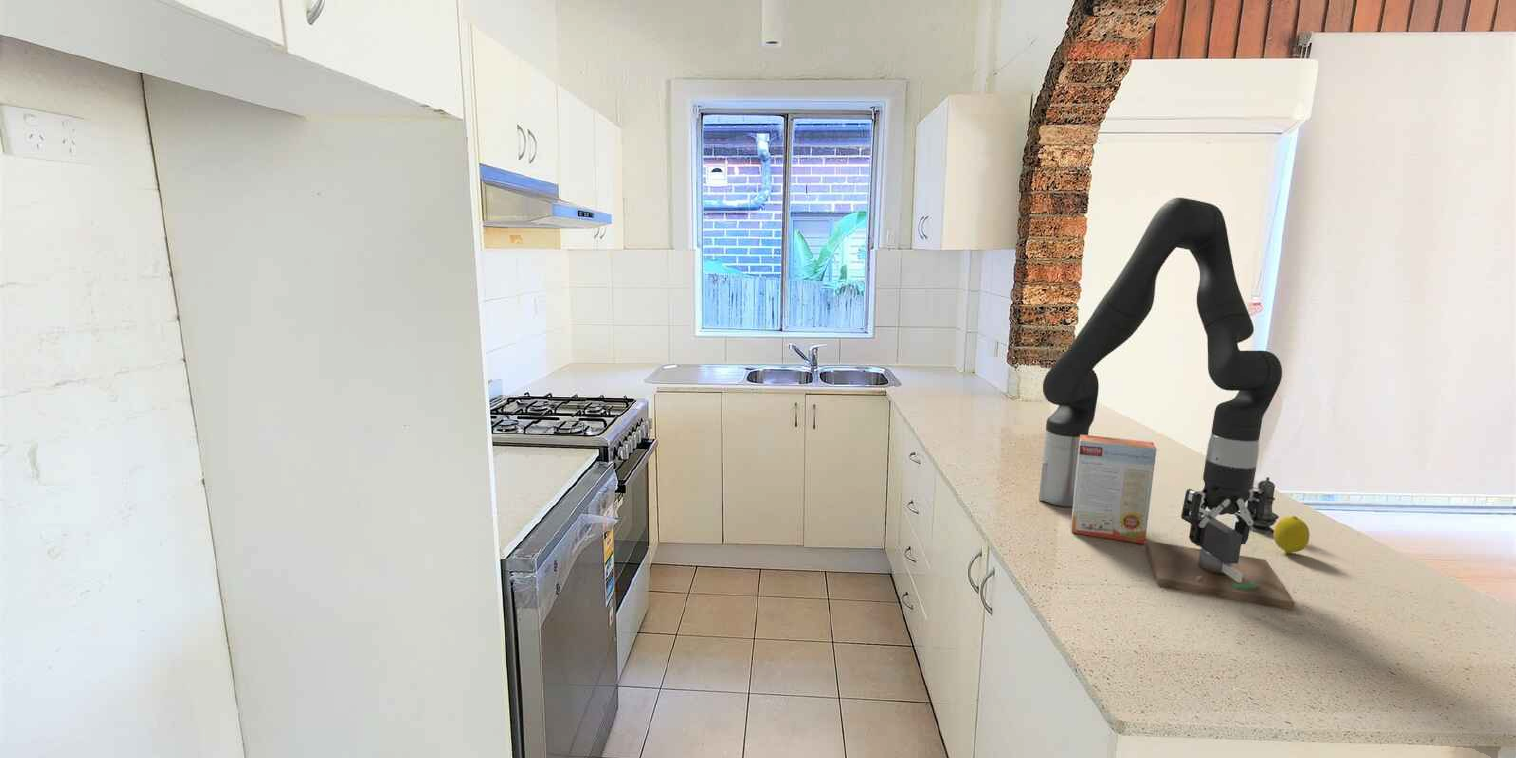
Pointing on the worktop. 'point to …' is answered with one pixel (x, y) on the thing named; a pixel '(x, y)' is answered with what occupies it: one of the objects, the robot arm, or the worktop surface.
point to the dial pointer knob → (1220, 549)
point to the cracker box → (1113, 488)
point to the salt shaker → (1266, 509)
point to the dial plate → (1217, 576)
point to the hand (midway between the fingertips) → (1217, 543)
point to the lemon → (1291, 534)
